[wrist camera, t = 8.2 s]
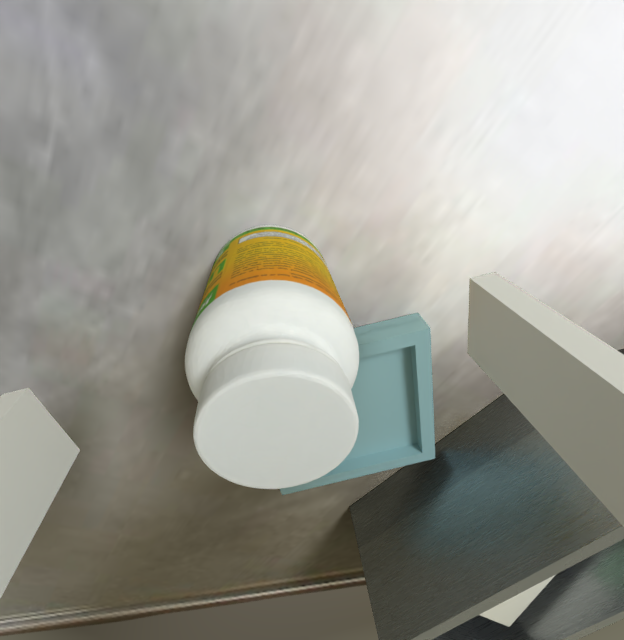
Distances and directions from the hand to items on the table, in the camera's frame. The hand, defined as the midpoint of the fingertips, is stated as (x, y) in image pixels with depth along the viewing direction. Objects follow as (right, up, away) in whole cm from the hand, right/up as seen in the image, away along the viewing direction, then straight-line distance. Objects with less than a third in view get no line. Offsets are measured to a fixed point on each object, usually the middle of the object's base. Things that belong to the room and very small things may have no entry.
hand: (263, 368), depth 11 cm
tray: (+3, -4, +10) cm, 12 cm away
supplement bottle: (0, +3, +6) cm, 7 cm away
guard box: (+14, -10, +16) cm, 23 cm away
